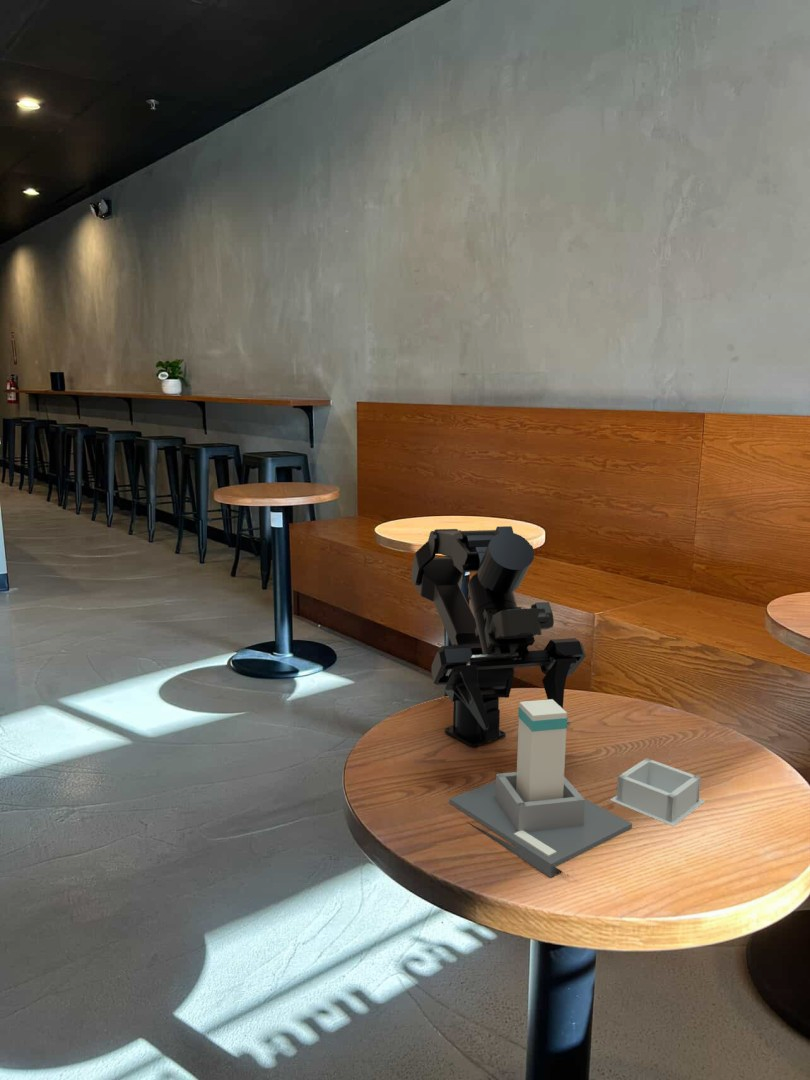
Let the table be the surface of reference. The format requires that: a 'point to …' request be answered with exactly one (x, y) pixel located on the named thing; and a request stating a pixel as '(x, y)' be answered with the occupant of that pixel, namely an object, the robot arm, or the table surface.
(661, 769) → the holster
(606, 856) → the table surface
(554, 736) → the plug
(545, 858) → the port panel
